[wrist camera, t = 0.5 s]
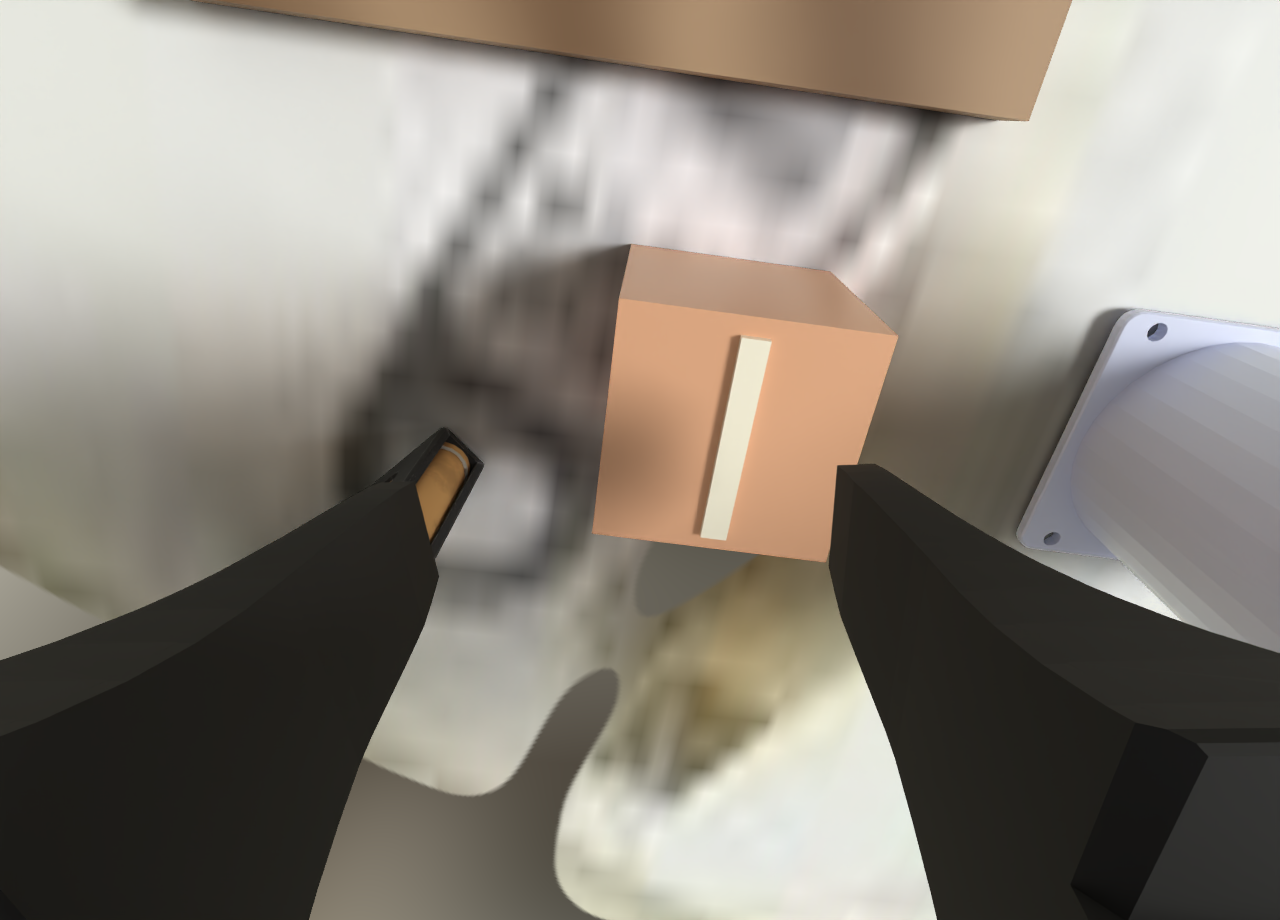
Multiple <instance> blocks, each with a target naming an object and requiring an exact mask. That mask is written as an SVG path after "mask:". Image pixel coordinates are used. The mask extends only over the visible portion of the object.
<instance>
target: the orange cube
mask: <svg viewBox="0 0 1280 920" xmlns="http://www.w3.org/2000/svg"><path fill="white" fill-rule="evenodd" d="M897 339H898V335H897V334H896V333H895V332H894V331H893V330H891V329H890V328H889V327H888V326H887V325H886V324H885V323H884V322H883V321H882V320H881V319H880V318H879V317H878V316H877V315H876V314H875V313H874V312H872V311H871V310H870V309H869V308H868V307H867V306H866V305H865V304H864V303H863V302H862V301H861V300H860V299H859V298H858V297H857V296H856V295H855V294H853V293H852V292H851V291H850V290H849V289H848V288H847V287H846V286H845V285H844V284H843V283H842V282H841V281H840V280H839V279H838V278H837V277H836V276H834V275H833V274H832V273H831V272H830V271H822V270H815V269H808V268H801V267H794V266H786V265H779V264H772V263H765V262H758V261H750V260H743V259H736V258H729V257H722V256H714V255H707V254H700V253H693V252H686V251H679V250H671V249H664V248H657V247H650V246H643V245H635V244H631V248H630V252H629V257H628V261H627V265H626V270H625V274H624V279H623V283H622V287H621V292H620V296H619V303H618V311H617V320H616V329H615V338H614V346H613V355H612V364H611V373H610V381H609V390H608V399H607V408H606V416H605V425H604V434H603V443H602V451H601V460H600V469H599V478H598V486H597V495H596V504H595V513H594V521H593V530H592V534H600V535H608V536H616V537H624V538H632V539H640V540H648V541H656V542H665V543H673V544H681V545H689V546H697V547H705V548H713V549H721V550H730V551H738V552H746V553H753V554H761V555H770V556H778V557H786V558H794V559H802V560H810V561H818V562H826V560H827V557H828V554H829V550H830V544H831V532H832V520H833V509H834V497H835V485H836V473H837V465H857V463H858V460H859V457H860V454H861V451H862V448H863V445H864V442H865V439H866V436H867V432H868V429H869V426H870V423H871V420H872V417H873V414H874V411H875V408H876V404H877V401H878V398H879V395H880V392H881V389H882V386H883V383H884V380H885V377H886V373H887V370H888V367H889V364H890V361H891V358H892V355H893V352H894V349H895V345H896V342H897Z"/></svg>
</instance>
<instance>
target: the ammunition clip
mask: <svg viewBox="0 0 1280 920" xmlns="http://www.w3.org/2000/svg"><path fill="white" fill-rule="evenodd" d="M483 467H484V464H483V463H482V462H481V461H480V460H479V459H478V458H477V457H476V456H475V455H474V454H473V453H472V452H471V451H470V450H469V449H468V448H467V447H466V446H465V445H464V444H463V443H462V442H461V441H460V440H459V439H457V438H456V437H455V436H454V435H453V434H452V433H451V432H450V431H449V430H448V429H447V428H440V429H439V430H438V431H437V432H436V433H434V434H433V435H432V436H431V437H430V438H428V439H427V440H426V441H425V442H423V443H422V444H421V445H420V446H419V447H417V448H416V449H415V450H414V451H413V452H411V453H410V454H409V455H408V456H407V457H405V458H404V459H403V460H402V461H400V462H399V463H398V464H397V465H396V466H394V467H393V468H392V469H391V470H390V471H388V472H387V473H386V474H385V475H384V476H382V477H381V478H380V479H379V480H377V481H376V482H375V483H374V484H373V485H371V486H374V485H376V484H378V483H381V482H406V481H415V484H416V488H417V492H418V496H419V500H420V504H421V508H422V512H423V516H424V520H425V524H426V528H427V532H428V536H429V539H430V543H431V547H432V551H433V555H434V559H435V558H436V556H437V554H438V553H439V551H440V549H441V547H442V545H443V543H444V541H445V539H446V537H447V535H448V534H449V532H450V530H451V528H452V526H453V524H454V522H455V520H456V518H457V517H458V515H459V513H460V511H461V509H462V507H463V505H464V503H465V501H466V500H467V498H468V496H469V494H470V492H471V490H472V488H473V486H474V484H475V483H476V481H477V479H478V477H479V475H480V473H481V471H482V469H483ZM371 486H370V487H371Z"/></svg>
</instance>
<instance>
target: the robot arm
mask: <svg viewBox="0 0 1280 920" xmlns="http://www.w3.org/2000/svg"><path fill="white" fill-rule="evenodd" d="M1157 323H1158V328H1157V330H1156V332H1155V333H1154V334H1152V335H1151V336H1149V337H1147V333H1148V330H1149V329H1150V328H1151V327H1152V326H1153V325H1155V324H1157ZM1051 532H1054V533H1053V534H1052V536H1050V537H1048V538H1044V537H1045V536H1046V535H1047V534H1049V533H1051ZM1016 535H1017V539H1018V540H1019V541H1020V542H1021V543H1022V544H1023V545H1024V546H1025V547H1027V548H1030V549H1038V550H1046V551H1054V552H1062V553H1070V554H1078V555H1085V556H1093V557H1101V558H1109V559H1117V560H1120V561H1121V562H1122V563H1123V564H1124V565H1125V566H1126V567H1127V568H1128V569H1129V570H1130V571H1131V572H1132V573H1133V574H1134V575H1135V576H1136V577H1137V578H1138V579H1139V580H1140V581H1141V582H1142V583H1143V584H1144V585H1145V586H1146V587H1147V588H1148V589H1149V590H1150V591H1152V592H1153V593H1154V594H1155V595H1156V596H1157V597H1158V598H1159V599H1160V600H1161V601H1162V602H1163V603H1164V604H1165V605H1166V606H1167V607H1168V608H1169V609H1170V610H1171V611H1172V612H1173V613H1174V614H1175V615H1176V616H1177V617H1178V618H1179V619H1180V620H1181V621H1182V622H1181V621H1178V620H1175V619H1172V618H1169V617H1167V616H1164V615H1161V614H1159V613H1156V612H1154V611H1151V610H1148V609H1146V608H1143V607H1141V606H1138V605H1135V604H1133V603H1130V602H1128V601H1125V600H1122V599H1120V598H1117V597H1115V596H1112V595H1110V594H1107V593H1105V592H1103V591H1100V590H1098V589H1095V588H1093V587H1091V586H1088V585H1086V584H1084V583H1082V582H1080V581H1077V580H1075V579H1073V578H1071V577H1069V576H1067V575H1065V574H1062V573H1060V572H1058V571H1056V570H1054V569H1052V568H1050V567H1047V566H1045V565H1043V564H1041V563H1039V562H1037V561H1035V560H1033V559H1031V558H1029V557H1027V556H1025V555H1023V554H1022V553H1020V552H1018V551H1016V550H1014V549H1012V548H1011V547H1009V546H1007V545H1005V544H1003V543H1002V542H1000V541H998V540H996V539H995V538H993V537H991V536H989V535H987V534H986V533H984V532H982V531H980V530H979V529H977V528H975V527H974V526H972V525H970V524H969V523H967V522H965V521H964V520H962V519H961V518H959V517H957V516H956V515H954V514H953V513H951V512H949V511H948V510H946V509H945V508H943V507H942V506H940V505H939V504H937V503H935V502H934V501H932V500H931V499H929V498H928V497H926V496H925V495H923V494H922V493H920V492H919V491H917V490H916V489H914V488H913V487H911V486H910V485H908V484H907V483H905V482H904V481H902V480H901V479H899V478H898V477H896V476H894V475H893V474H891V473H890V472H888V471H887V470H885V469H883V468H881V467H880V466H878V465H876V464H858V465H837V473H836V485H835V497H834V509H833V520H832V532H831V544H830V556H829V569H830V574H831V578H832V582H833V587H834V591H835V595H836V599H837V603H838V607H839V611H840V615H841V618H842V621H843V624H844V626H845V629H846V632H847V634H848V637H849V639H850V642H851V645H852V647H853V650H854V652H855V655H856V657H857V660H858V662H859V665H860V668H861V670H862V673H863V675H864V678H865V680H866V683H867V685H868V688H869V690H870V693H871V695H872V698H873V700H874V703H875V706H876V708H877V711H878V713H879V716H880V718H881V721H882V723H883V726H884V728H885V731H886V734H887V737H888V739H889V742H890V745H891V748H892V751H893V754H894V757H895V760H896V764H897V767H898V771H899V774H900V778H901V782H902V785H903V789H904V792H905V796H906V800H907V803H908V807H909V811H910V814H911V818H912V821H913V825H914V829H915V833H916V837H917V841H918V845H919V849H920V852H921V856H922V860H923V864H924V868H925V872H926V876H927V880H928V883H929V887H930V891H931V895H932V900H933V904H934V908H935V912H936V916H937V920H1280V328H1274V327H1267V326H1260V325H1253V324H1245V323H1238V322H1231V321H1224V320H1217V319H1209V318H1202V317H1195V316H1188V315H1181V314H1174V313H1166V312H1159V311H1152V310H1145V309H1133V310H1130V311H1128V312H1126V313H1124V314H1123V315H1122V316H1121V317H1119V319H1118V320H1117V322H1116V323H1115V325H1114V327H1113V329H1112V331H1111V333H1110V335H1109V338H1108V340H1107V342H1106V344H1105V346H1104V348H1103V350H1102V352H1101V354H1100V356H1099V359H1098V361H1097V363H1096V365H1095V367H1094V369H1093V371H1092V373H1091V375H1090V377H1089V380H1088V382H1087V384H1086V386H1085V388H1084V390H1083V392H1082V394H1081V396H1080V398H1079V401H1078V403H1077V405H1076V407H1075V409H1074V411H1073V413H1072V415H1071V417H1070V419H1069V422H1068V424H1067V426H1066V428H1065V430H1064V432H1063V434H1062V436H1061V438H1060V440H1059V443H1058V445H1057V447H1056V449H1055V451H1054V453H1053V455H1052V457H1051V459H1050V461H1049V464H1048V466H1047V468H1046V470H1045V472H1044V474H1043V476H1042V478H1041V480H1040V482H1039V485H1038V487H1037V489H1036V491H1035V493H1034V495H1033V497H1032V499H1031V501H1030V503H1029V506H1028V508H1027V510H1026V512H1025V514H1024V516H1023V518H1022V520H1021V522H1020V524H1019V527H1018V529H1017V532H1016ZM438 578H439V575H438V571H437V567H436V563H435V559H434V555H433V551H432V547H431V543H430V539H429V536H428V532H427V528H426V524H425V520H424V516H423V512H422V508H421V504H420V500H419V496H418V492H417V488H416V484H415V481H406V482H381V483H378V484H376V485H374V486H371V487H369V488H367V489H365V490H363V491H361V492H359V493H357V494H355V495H354V496H352V497H350V498H348V499H346V500H345V501H343V502H341V503H340V504H338V505H336V506H334V507H333V508H331V509H329V510H328V511H326V512H324V513H322V514H321V515H319V516H317V517H316V518H314V519H312V520H310V521H309V522H307V523H305V524H304V525H302V526H300V527H299V528H297V529H295V530H293V531H292V532H290V533H288V534H287V535H285V536H283V537H281V538H280V539H278V540H276V541H274V542H273V543H271V544H269V545H267V546H265V547H263V548H262V549H260V550H258V551H256V552H254V553H252V554H251V555H249V556H247V557H245V558H243V559H241V560H240V561H238V562H236V563H234V564H232V565H230V566H229V567H227V568H225V569H223V570H221V571H219V572H217V573H215V574H213V575H211V576H209V577H207V578H205V579H203V580H201V581H199V582H197V583H195V584H193V585H191V586H189V587H187V588H185V589H183V590H180V591H178V592H176V593H174V594H172V595H169V596H167V597H165V598H163V599H161V600H158V601H156V602H154V603H152V604H149V605H147V606H145V607H142V608H140V609H138V610H135V611H133V612H130V613H128V614H125V615H123V616H120V617H118V618H115V619H113V620H110V621H107V622H105V623H102V624H100V625H97V626H95V627H92V628H90V629H87V630H84V631H82V632H79V633H77V634H74V635H72V636H69V637H66V638H64V639H61V640H59V641H56V642H53V643H50V644H48V645H45V646H42V647H39V648H36V649H33V650H30V651H27V652H24V653H21V654H18V655H15V656H12V657H9V658H6V659H3V660H0V920H309V917H310V914H311V910H312V907H313V903H314V900H315V896H316V893H317V889H318V886H319V883H320V880H321V876H322V874H323V871H324V868H325V865H326V862H327V858H328V855H329V852H330V849H331V846H332V843H333V840H334V837H335V834H336V831H337V827H338V824H339V821H340V819H341V816H342V813H343V810H344V807H345V804H346V802H347V799H348V796H349V793H350V790H351V787H352V785H353V782H354V779H355V776H356V773H357V771H358V767H359V765H360V763H361V760H362V758H363V756H364V753H365V751H366V749H367V746H368V744H369V741H370V739H371V737H372V735H373V733H374V731H375V729H376V727H377V724H378V722H379V720H380V718H381V716H382V714H383V712H384V710H385V708H386V706H387V704H388V701H389V699H390V697H391V695H392V693H393V691H394V689H395V687H396V685H397V683H398V681H399V679H400V677H401V674H402V672H403V670H404V668H405V666H406V664H407V662H408V660H409V658H410V655H411V653H412V651H413V649H414V647H415V645H416V643H417V640H418V638H419V636H420V634H421V632H422V629H423V627H424V625H425V622H426V618H427V615H428V612H429V609H430V606H431V603H432V599H433V596H434V592H435V589H436V585H437V582H438Z"/></svg>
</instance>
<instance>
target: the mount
mask: <svg viewBox="0 0 1280 920" xmlns="http://www.w3.org/2000/svg"><path fill="white" fill-rule="evenodd" d="M191 1H198V2H204V3H211V4H218V5H225V6H231V7H238V8H245V9H252V10H258V11H265V12H272V13H279V14H285V15H292V16H299V17H306V18H312V19H319V20H326V21H332V22H339V23H346V24H353V25H359V26H366V27H373V28H380V29H386V30H393V31H400V32H407V33H413V34H420V35H427V36H434V37H440V38H447V39H454V40H461V41H467V42H474V43H481V44H488V45H494V46H501V47H508V48H515V49H521V50H528V51H535V52H542V53H548V54H555V55H562V56H568V57H575V58H582V59H589V60H595V61H602V62H609V63H616V64H622V65H629V66H636V67H643V68H649V69H656V70H663V71H670V72H676V73H683V74H690V75H697V76H703V77H710V78H717V79H724V80H730V81H737V82H744V83H751V84H757V85H764V86H771V87H778V88H784V89H791V90H798V91H804V92H811V93H818V94H825V95H831V96H838V97H845V98H852V99H858V100H865V101H872V102H879V103H885V104H892V105H899V106H906V107H912V108H919V109H926V110H933V111H939V112H946V113H953V114H960V115H966V116H973V117H980V118H987V119H993V120H1003V121H1029V119H1030V116H1031V113H1032V110H1033V108H1034V105H1035V102H1036V99H1037V97H1038V94H1039V91H1040V88H1041V85H1042V83H1043V80H1044V77H1045V74H1046V72H1047V69H1048V66H1049V63H1050V61H1051V58H1052V55H1053V52H1054V49H1055V47H1056V44H1057V41H1058V38H1059V36H1060V33H1061V30H1062V27H1063V24H1064V22H1065V19H1066V16H1067V13H1068V11H1069V8H1070V5H1071V2H1072V0H191Z"/></svg>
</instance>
